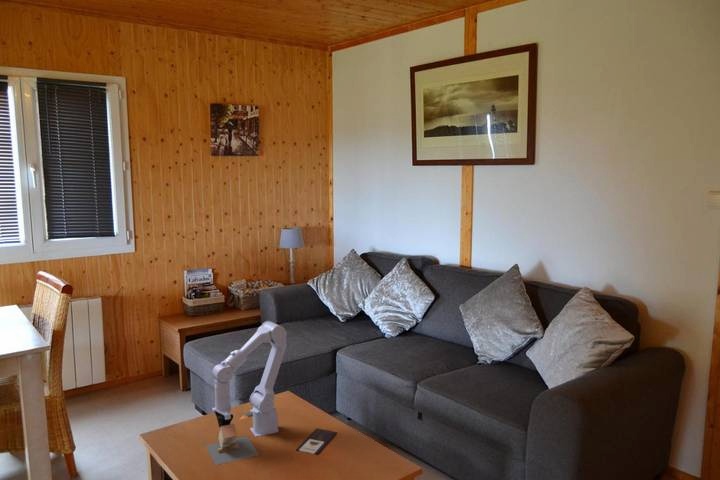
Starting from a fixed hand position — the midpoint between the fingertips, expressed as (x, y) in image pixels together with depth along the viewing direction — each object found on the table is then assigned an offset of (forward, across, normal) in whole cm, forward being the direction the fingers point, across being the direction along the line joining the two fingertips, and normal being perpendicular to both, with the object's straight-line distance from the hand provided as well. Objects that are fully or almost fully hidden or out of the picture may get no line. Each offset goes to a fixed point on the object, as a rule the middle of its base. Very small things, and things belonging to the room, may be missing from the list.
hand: (223, 429), depth 218 cm
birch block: (+4, +3, 0) cm, 5 cm away
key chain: (+6, -19, +14) cm, 24 cm away
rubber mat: (+5, +7, +1) cm, 9 cm away
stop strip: (+5, +7, 0) cm, 8 cm away
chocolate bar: (+6, +15, +32) cm, 36 cm away
